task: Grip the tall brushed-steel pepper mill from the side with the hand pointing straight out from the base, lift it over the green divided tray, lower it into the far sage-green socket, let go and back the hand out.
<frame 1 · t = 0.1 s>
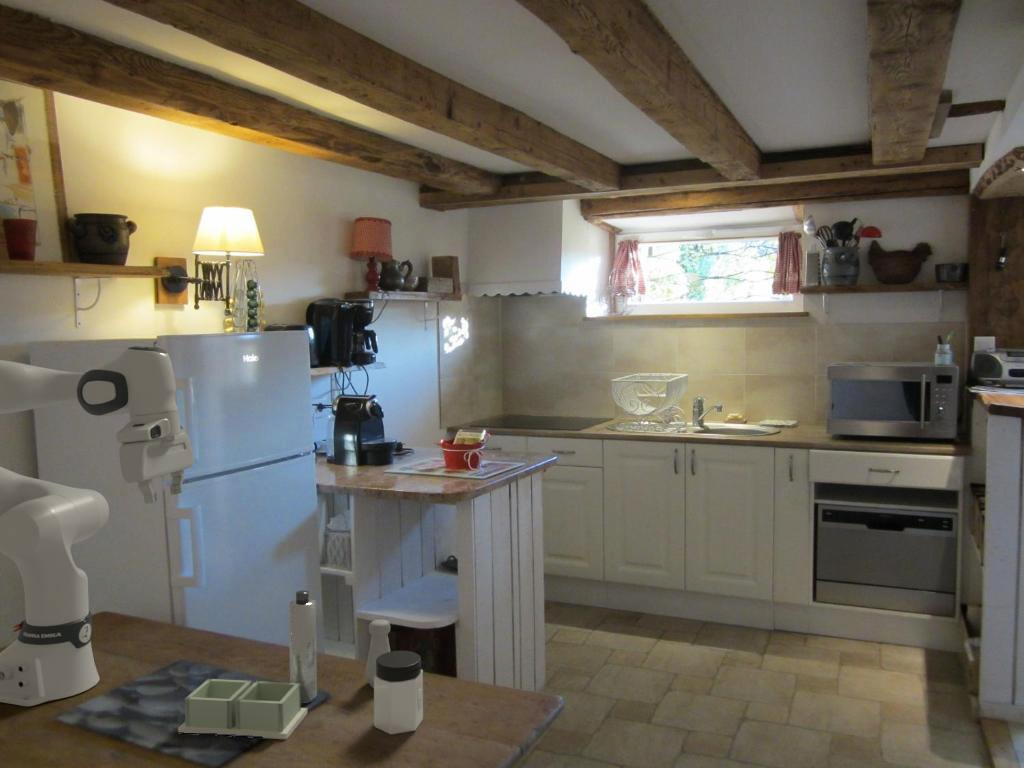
hand: (164, 498, 158), 39 cm above the table, tool pointing down, fingers open, 8 cm apart
green divided tray: (244, 723, 146), on the table
jar: (398, 724, 146), on the table
salt shaker: (379, 685, 163), on the table
pepper mill: (303, 698, 157), on the table
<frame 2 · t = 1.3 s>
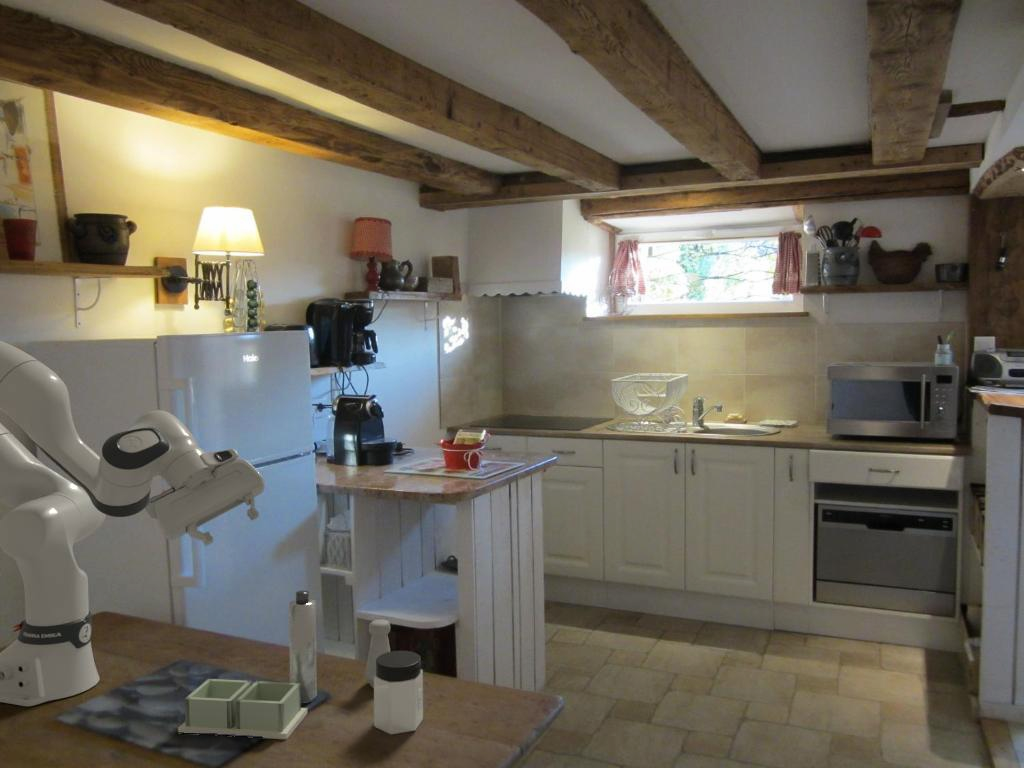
hand: (233, 529, 150), 34 cm above the table, tool tilted 50°, fingers open, 8 cm apart
nothing on the table moved.
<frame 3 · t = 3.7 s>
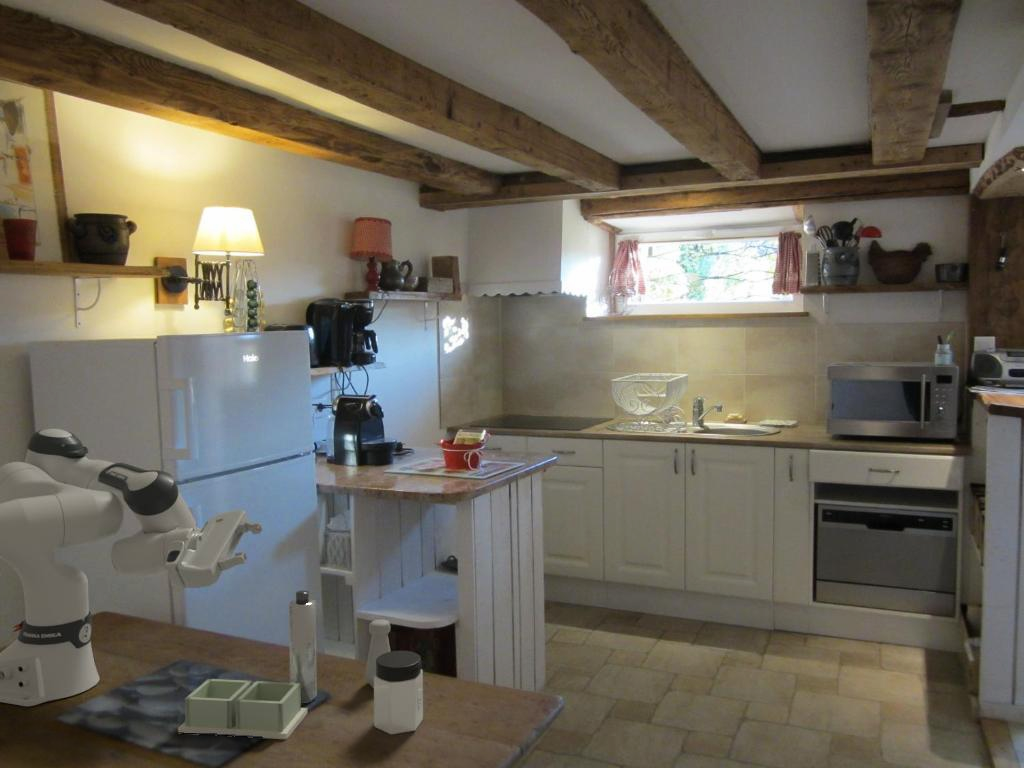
hand: (253, 542, 162), 29 cm above the table, tool horizontal, fingers open, 8 cm apart
nothing on the table moved.
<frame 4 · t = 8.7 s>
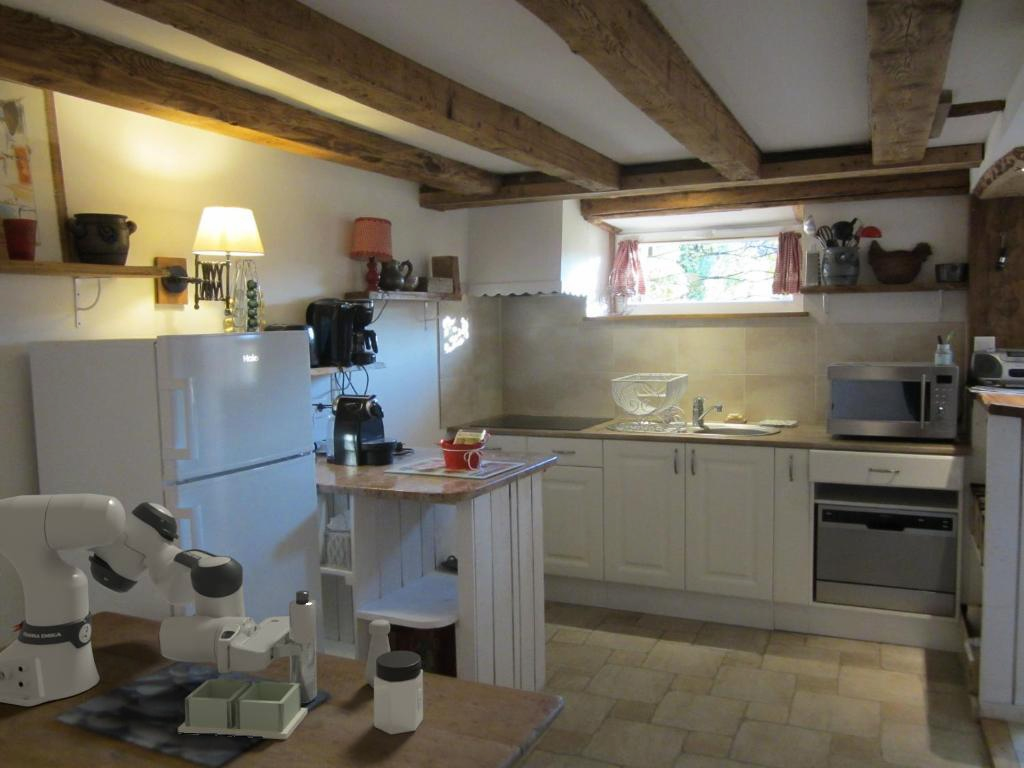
hand: (307, 643, 156), 11 cm above the table, tool horizontal, fingers closed on pepper mill, 5 cm apart
pepper mill: (303, 698, 157), on the table, touching gripper
everything else where it was.
when the fingers open (13 cm above the table, at t = 14.7 s): pepper mill stays where it is, resting on green divided tray.
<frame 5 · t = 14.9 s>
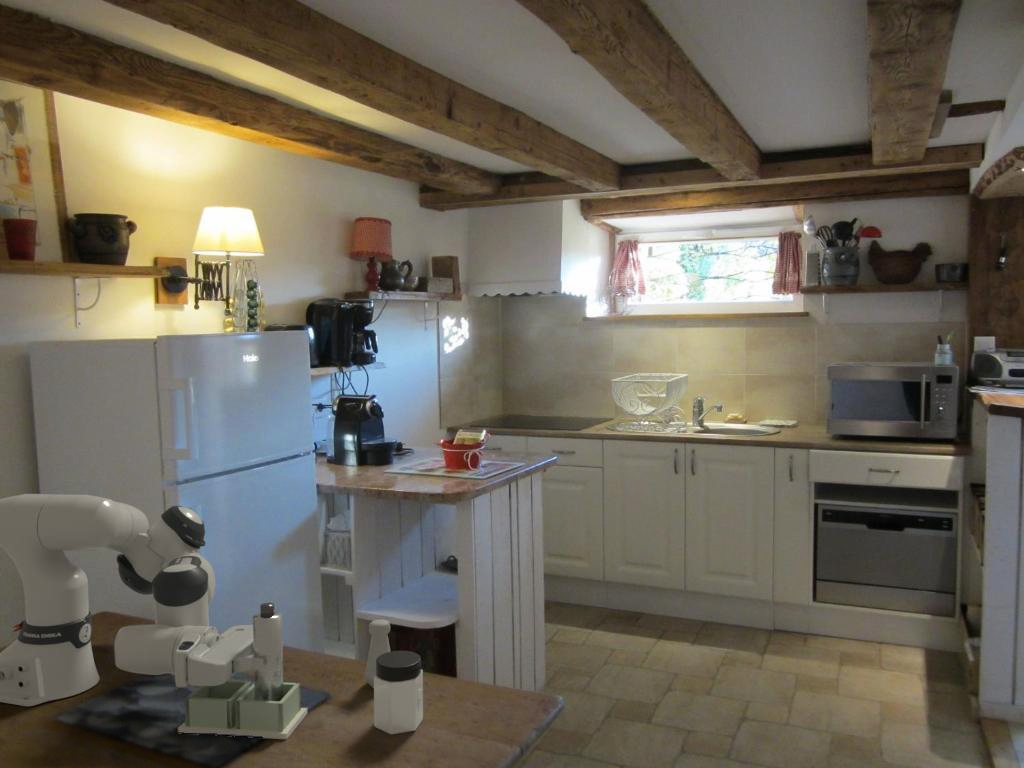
hand: (273, 654, 145), 13 cm above the table, tool horizontal, fingers open, 6 cm apart
pepper mill: (269, 718, 146), point 1 cm above the table, touching green divided tray
everything else where it was.
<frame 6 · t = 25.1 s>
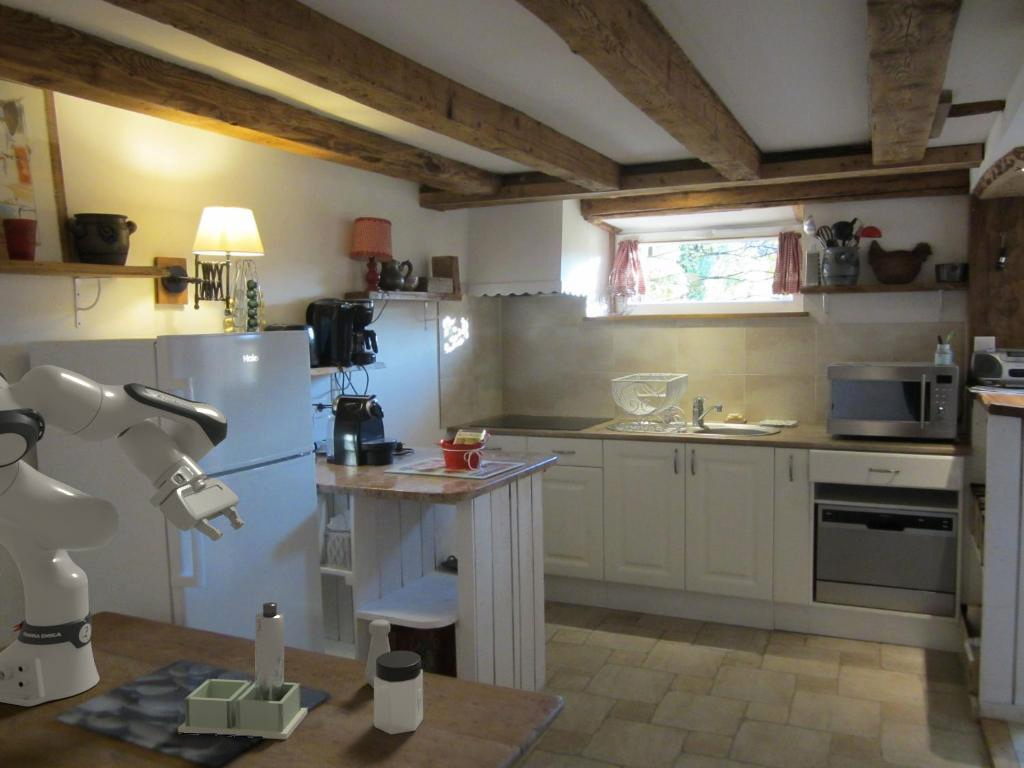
hand: (230, 532, 161), 31 cm above the table, tool tilted 45°, fingers open, 8 cm apart
nothing on the table moved.
at the end: pepper mill 0.0 cm from the target spot on the green divided tray, point 1.0 cm above the green divided tray's base; pepper mill tilted 1°; the gripper is holding nothing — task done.
